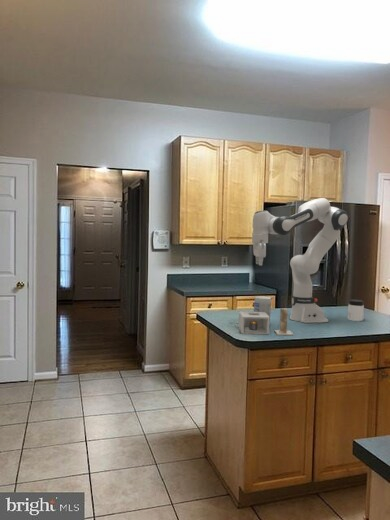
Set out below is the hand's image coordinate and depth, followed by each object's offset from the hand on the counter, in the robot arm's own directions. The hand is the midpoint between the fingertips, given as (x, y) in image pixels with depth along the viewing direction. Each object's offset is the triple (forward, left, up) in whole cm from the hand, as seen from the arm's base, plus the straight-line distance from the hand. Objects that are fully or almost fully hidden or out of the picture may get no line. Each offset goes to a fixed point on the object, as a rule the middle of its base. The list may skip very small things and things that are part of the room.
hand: (259, 264), depth 228 cm
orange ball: (+4, +13, -33) cm, 36 cm away
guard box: (+4, +13, -34) cm, 37 cm away
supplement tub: (-4, -7, -34) cm, 35 cm away
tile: (-11, +18, -34) cm, 40 cm away
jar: (-64, -21, -34) cm, 76 cm away
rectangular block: (-11, +18, -33) cm, 39 cm away
